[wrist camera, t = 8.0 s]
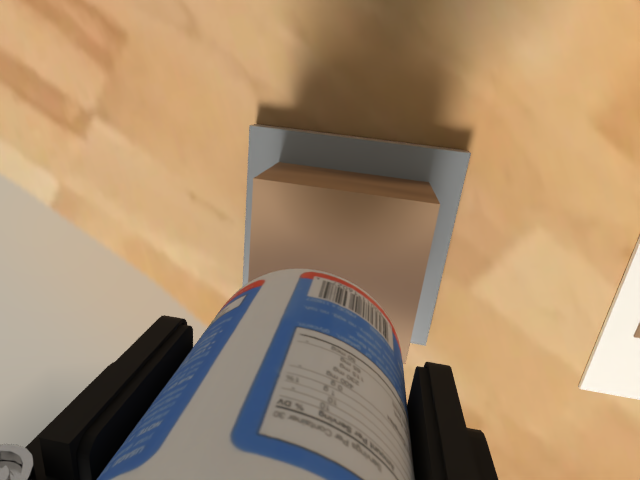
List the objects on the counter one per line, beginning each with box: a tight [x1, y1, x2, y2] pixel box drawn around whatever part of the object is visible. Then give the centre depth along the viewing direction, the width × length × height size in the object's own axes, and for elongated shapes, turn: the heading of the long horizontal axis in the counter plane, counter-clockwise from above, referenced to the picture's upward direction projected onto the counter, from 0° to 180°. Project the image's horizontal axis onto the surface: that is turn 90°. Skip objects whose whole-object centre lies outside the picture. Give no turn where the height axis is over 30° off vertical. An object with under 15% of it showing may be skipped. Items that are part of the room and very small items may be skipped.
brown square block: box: [248, 162, 440, 364], centre depth 18 cm, size 7×7×4 cm
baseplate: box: [243, 124, 471, 346], centre depth 20 cm, size 10×10×1 cm
